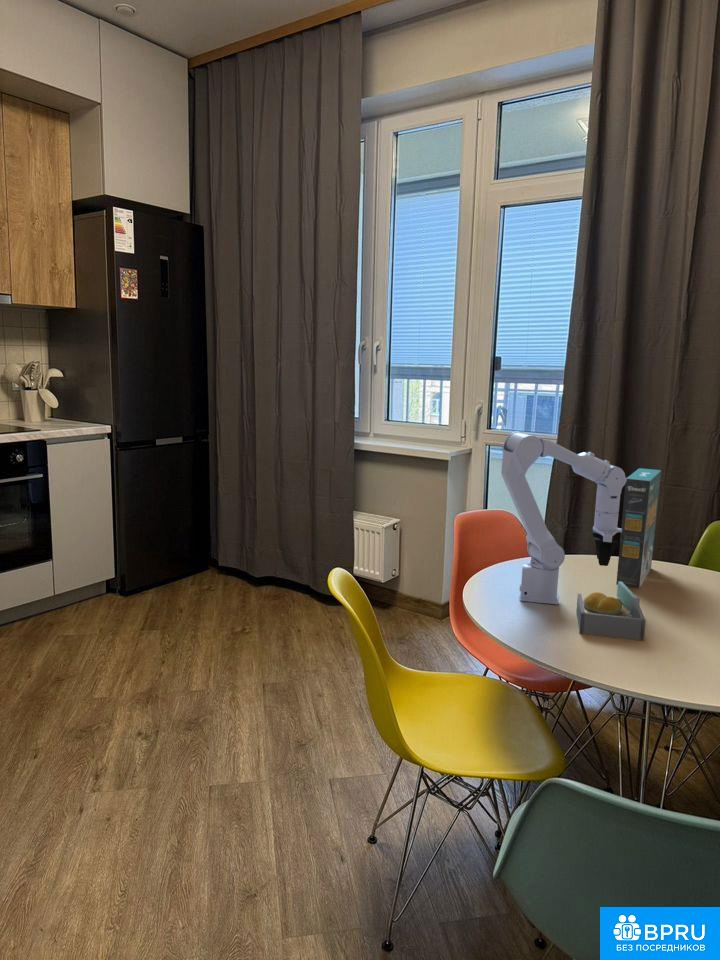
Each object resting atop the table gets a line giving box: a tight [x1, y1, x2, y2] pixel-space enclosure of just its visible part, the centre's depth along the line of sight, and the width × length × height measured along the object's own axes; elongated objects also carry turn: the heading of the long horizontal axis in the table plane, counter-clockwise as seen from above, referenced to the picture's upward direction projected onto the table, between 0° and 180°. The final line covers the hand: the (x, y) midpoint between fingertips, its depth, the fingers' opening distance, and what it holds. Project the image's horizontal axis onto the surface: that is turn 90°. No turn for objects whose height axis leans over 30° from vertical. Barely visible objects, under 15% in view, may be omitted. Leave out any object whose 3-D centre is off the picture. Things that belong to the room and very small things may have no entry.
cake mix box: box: [615, 468, 662, 589], centre depth 193 cm, size 22×6×30 cm, turn 149°
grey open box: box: [575, 593, 646, 642], centre depth 159 cm, size 15×16×5 cm
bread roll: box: [583, 591, 623, 616], centre depth 169 cm, size 8×9×4 cm
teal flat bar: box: [616, 582, 641, 615], centre depth 170 cm, size 14×2×4 cm, turn 175°
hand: (602, 562), depth 177 cm, fingers open, 5 cm apart
